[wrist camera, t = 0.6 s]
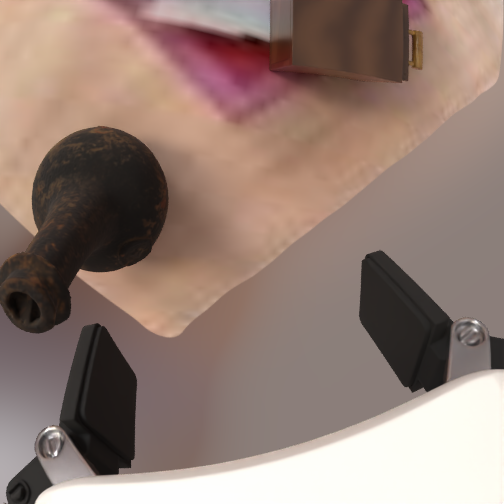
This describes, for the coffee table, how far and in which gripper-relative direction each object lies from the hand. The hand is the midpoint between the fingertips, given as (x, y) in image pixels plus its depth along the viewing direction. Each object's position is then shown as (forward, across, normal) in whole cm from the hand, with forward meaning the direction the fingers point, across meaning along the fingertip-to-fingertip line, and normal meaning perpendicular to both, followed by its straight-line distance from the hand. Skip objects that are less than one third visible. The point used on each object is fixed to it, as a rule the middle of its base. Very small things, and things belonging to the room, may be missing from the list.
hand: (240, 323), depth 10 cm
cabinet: (+34, -20, -14) cm, 42 cm away
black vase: (+34, +13, +2) cm, 37 cm away
